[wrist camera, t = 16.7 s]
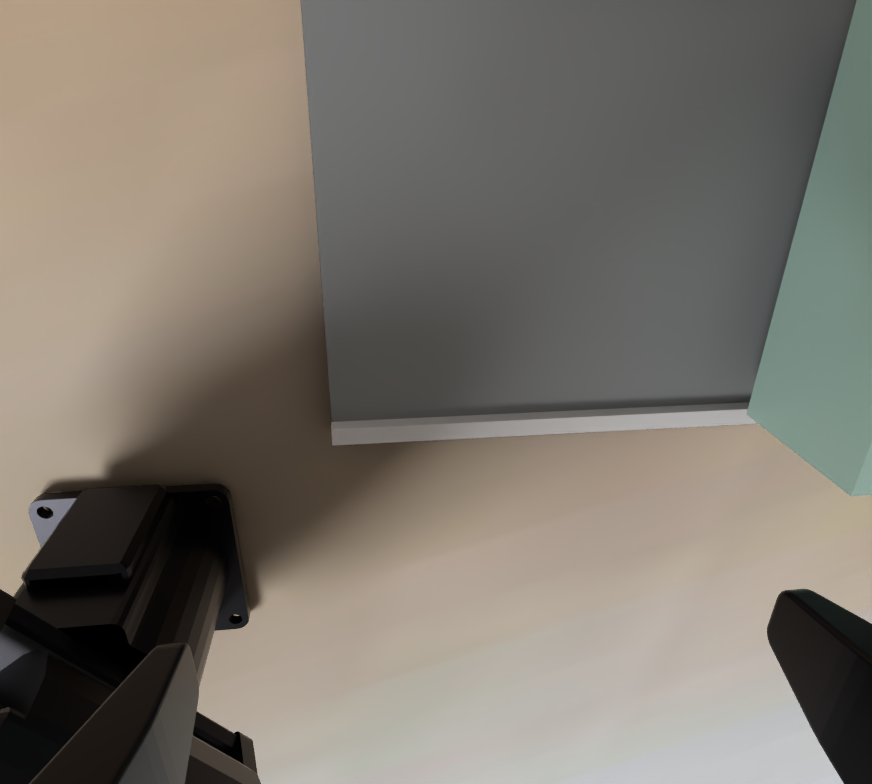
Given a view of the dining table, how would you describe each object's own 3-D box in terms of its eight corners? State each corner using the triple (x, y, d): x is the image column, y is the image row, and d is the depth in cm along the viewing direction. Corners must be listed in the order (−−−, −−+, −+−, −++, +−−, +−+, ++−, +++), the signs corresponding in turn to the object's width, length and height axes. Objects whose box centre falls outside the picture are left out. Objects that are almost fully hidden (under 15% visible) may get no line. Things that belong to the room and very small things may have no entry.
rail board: (1083, 394, 24) (1188, 435, 21) (334, 431, 21) (330, 487, 18) (1305, -21, 18) (1497, -48, 15) (298, -66, 15) (283, -112, 12)
